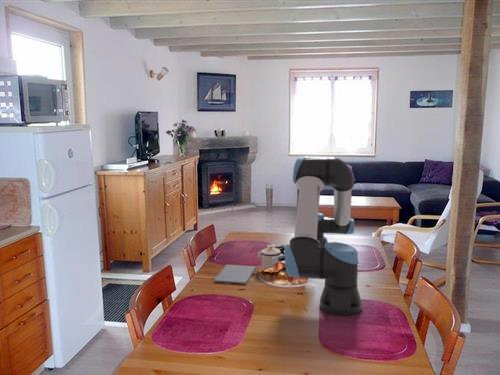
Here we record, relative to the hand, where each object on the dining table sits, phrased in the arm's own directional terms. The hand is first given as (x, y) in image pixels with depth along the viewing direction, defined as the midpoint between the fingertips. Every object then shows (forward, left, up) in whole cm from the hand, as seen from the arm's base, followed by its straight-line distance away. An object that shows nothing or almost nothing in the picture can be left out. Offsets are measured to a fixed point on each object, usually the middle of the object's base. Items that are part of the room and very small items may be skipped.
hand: (265, 257), depth 197 cm
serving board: (-6, +12, -7) cm, 15 cm away
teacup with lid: (+4, -2, -7) cm, 8 cm away
